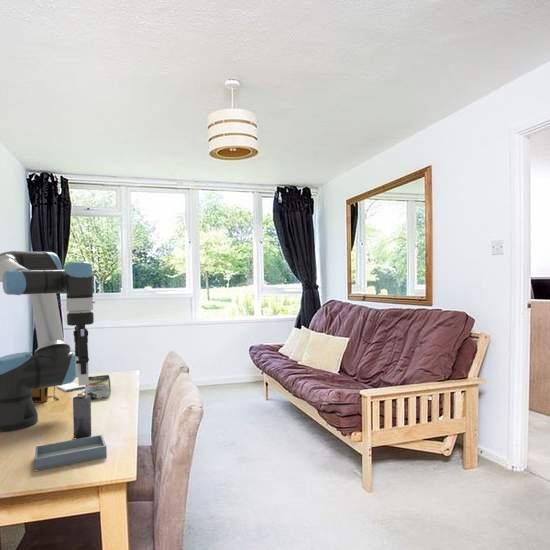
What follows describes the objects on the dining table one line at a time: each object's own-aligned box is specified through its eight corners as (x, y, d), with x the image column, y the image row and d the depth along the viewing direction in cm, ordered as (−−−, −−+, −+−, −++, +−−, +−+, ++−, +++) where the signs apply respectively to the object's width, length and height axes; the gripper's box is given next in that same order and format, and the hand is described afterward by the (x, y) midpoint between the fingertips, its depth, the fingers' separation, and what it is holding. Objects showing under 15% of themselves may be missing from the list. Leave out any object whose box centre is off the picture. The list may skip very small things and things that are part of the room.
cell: (73, 435, 136) (72, 393, 136) (90, 432, 138) (89, 391, 138) (74, 440, 131) (73, 397, 131) (92, 437, 134) (91, 394, 134)
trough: (35, 457, 119) (35, 446, 119) (102, 444, 127) (102, 434, 127) (35, 471, 110) (34, 459, 110) (106, 457, 118) (106, 445, 118)
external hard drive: (66, 393, 189) (56, 388, 198) (85, 389, 195) (75, 385, 204) (66, 389, 189) (56, 385, 198) (85, 386, 195) (74, 381, 204)
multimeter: (67, 396, 182) (66, 348, 183) (52, 403, 173) (51, 352, 173) (34, 396, 184) (33, 348, 184) (17, 402, 174) (16, 352, 174)
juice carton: (111, 398, 179) (110, 383, 179) (84, 401, 175) (84, 386, 175) (110, 387, 197) (109, 374, 197) (86, 390, 194) (86, 376, 194)
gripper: (97, 313, 126) (99, 387, 125) (89, 309, 148) (91, 372, 147) (68, 314, 122) (70, 390, 122) (65, 310, 144) (66, 375, 144)
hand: (81, 380), depth 135 cm, fingers open, 13 cm apart
